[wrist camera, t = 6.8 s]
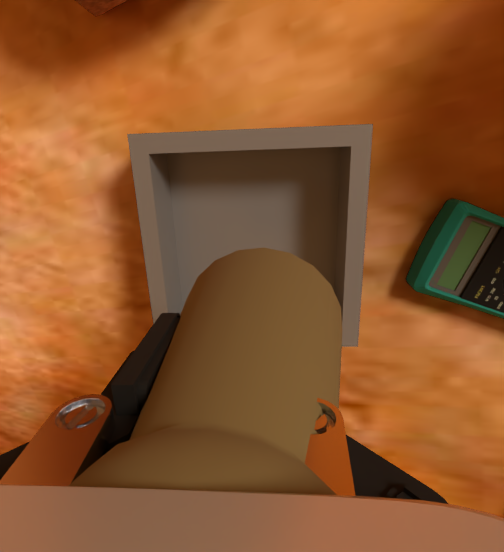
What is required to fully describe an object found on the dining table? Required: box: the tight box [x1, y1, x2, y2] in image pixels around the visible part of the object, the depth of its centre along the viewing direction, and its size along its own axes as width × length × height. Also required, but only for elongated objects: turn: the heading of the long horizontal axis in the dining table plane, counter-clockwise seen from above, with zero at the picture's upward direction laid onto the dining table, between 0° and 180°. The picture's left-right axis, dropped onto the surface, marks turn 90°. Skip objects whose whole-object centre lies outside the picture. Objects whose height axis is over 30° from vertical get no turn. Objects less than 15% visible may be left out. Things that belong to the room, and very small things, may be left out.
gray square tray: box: [127, 124, 373, 347], centre depth 27 cm, size 15×15×5 cm
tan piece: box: [68, 248, 342, 495], centre depth 9 cm, size 6×6×11 cm
